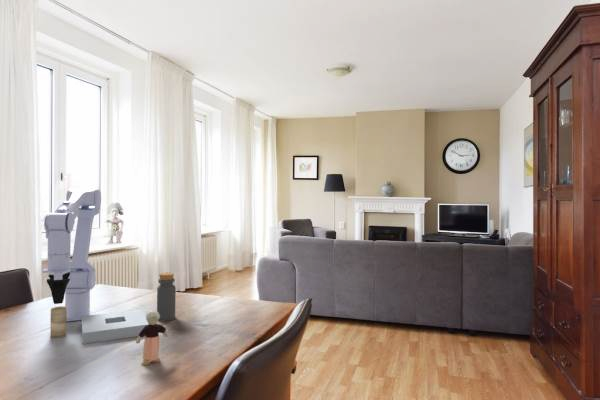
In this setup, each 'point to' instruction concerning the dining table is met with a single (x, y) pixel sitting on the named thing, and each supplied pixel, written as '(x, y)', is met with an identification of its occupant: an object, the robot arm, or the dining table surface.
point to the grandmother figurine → (151, 338)
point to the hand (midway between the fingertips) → (58, 300)
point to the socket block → (112, 325)
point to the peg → (58, 321)
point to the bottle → (166, 297)
